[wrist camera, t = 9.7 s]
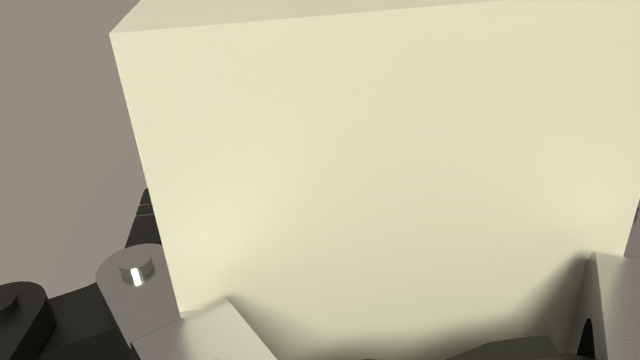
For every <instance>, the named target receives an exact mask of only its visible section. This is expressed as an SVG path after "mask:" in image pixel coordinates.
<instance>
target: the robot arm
mask: <svg viewBox="0 0 640 360" xmlns="http://www.w3.org/2000/svg"><path fill="white" fill-rule="evenodd" d="M0 360H277V359H276V358H275V357H274V355H273V354H272V353H271V352H270V350H269V349H268V348H267V347H266V346H265V344H264V343H263V342H262V341H261V339H260V338H259V337H258V336H257V335H256V333H255V332H254V331H253V330H252V328H251V327H250V326H249V325H248V324H247V322H246V321H245V320H244V319H243V317H242V316H241V315H240V314H239V313H238V311H237V310H236V309H235V308H234V306H233V305H232V304H231V303H230V302H229V301H228V300H227V299H225V298H222V299H220V300H218V301H216V302H214V303H212V304H210V305H208V306H205V307H203V308H201V309H199V310H192V311H185V312H179V309H178V305H177V301H176V297H175V293H174V289H173V285H172V281H171V277H170V273H169V269H168V266H167V262H166V258H165V254H164V250H163V246H162V242H161V238H160V234H159V230H158V226H157V222H156V218H155V214H154V210H153V206H152V202H151V198H150V194H149V190H148V187H147V189H145V190H144V193H143V196H142V198H141V201H140V206H139V207H138V211H137V213H136V217H135V219H134V222H133V225H132V228H131V231H130V234H129V237H128V240H127V243H126V246H125V249H123V250H120V251H118V252H116V253H115V254H113V255H111V256H110V257H108V258H107V259H106V260H105V261H104V262H103V263H102V264H101V265H100V266H99V268H98V270H97V273H96V282H95V283H93V284H91V285H89V286H87V287H84V288H81V289H79V290H75V291H72V292H69V293H66V294H63V295H60V296H57V297H54V298H51V299H48V298H47V295H46V293H45V290H44V289H43V288H42V287H41V286H40V285H38V284H36V283H33V282H12V283H8V284H4V285H0ZM363 360H375V359H363ZM445 360H640V199H639V203H638V206H637V210H636V213H635V217H634V220H633V224H632V227H631V231H630V234H629V238H628V241H627V245H626V248H625V252H624V255H623V256H618V255H612V254H606V253H599V252H592V253H591V255H590V258H589V259H587V261H586V265H585V269H584V273H583V277H582V281H581V285H580V297H579V303H578V308H577V312H576V316H575V321H574V325H573V329H572V333H571V337H570V341H569V345H568V349H567V353H560V352H559V351H558V349H557V348H556V346H555V345H554V343H553V342H552V340H551V339H550V337H549V336H548V335H547V334H544V335H537V336H530V337H523V338H515V339H508V340H501V341H494V342H489V343H486V344H483V345H481V346H478V347H476V348H473V349H471V350H468V351H465V352H463V353H460V354H458V355H455V356H453V357H450V358H448V359H445Z"/></svg>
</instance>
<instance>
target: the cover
mask: <svg viewBox="0 0 640 360" xmlns="http://www.w3.org/2000/svg"><path fill="white" fill-rule="evenodd" d="M109 35H110V39H111V43H112V47H113V51H114V55H115V59H116V63H117V67H118V71H119V75H120V79H121V83H122V87H123V91H124V95H125V99H126V103H127V107H128V111H129V115H130V119H131V123H132V127H133V130H134V135H135V139H136V143H137V146H138V151H139V155H140V158H141V162H142V166H143V170H144V174H145V178H146V182H147V186H148V190H149V194H150V198H151V202H152V206H153V210H154V214H155V218H156V222H157V226H158V230H159V234H160V238H161V242H162V246H163V250H164V254H165V258H166V262H167V266H168V269H169V273H170V277H171V281H172V285H173V289H174V293H175V297H176V301H177V305H178V309H179V312H185V311H192V310H199V309H201V308H203V307H205V306H208V305H210V304H212V303H214V302H216V301H218V300H220V299H222V298H225V299H227V300H228V301H229V302H230V303H231V304H232V305H233V306H234V308H235V309H236V310H237V311H238V313H239V314H240V315H241V316H242V317H243V319H244V320H245V321H246V322H247V324H248V325H249V326H250V327H251V328H252V330H253V331H254V332H255V333H256V335H257V336H258V337H259V338H260V339H261V341H262V342H263V343H264V344H265V346H266V347H267V348H268V349H269V350H270V352H271V353H272V354H273V355H274V357H275V358H276V359H277V360H363V359H375V360H445V359H448V358H450V357H453V356H455V355H458V354H460V353H463V352H465V351H468V350H471V349H473V348H476V347H478V346H481V345H483V344H486V343H489V342H494V341H501V340H508V339H515V338H523V337H530V336H537V335H544V334H547V335H548V336H549V337H550V339H551V340H552V342H553V343H554V345H555V346H556V348H557V349H558V351H559V352H560V353H567V349H568V345H569V341H570V337H571V333H572V329H573V325H574V321H575V316H576V312H577V308H578V303H579V297H580V285H581V281H582V277H583V273H584V269H585V265H586V261H587V259H589V258H590V255H591V253H592V252H599V253H606V254H612V255H618V256H623V255H624V252H625V248H626V245H627V241H628V238H629V234H630V231H631V227H632V224H633V220H634V217H635V213H636V210H637V206H638V203H639V199H640V0H140V1H139V3H138V4H137V5H136V6H135V7H134V8H133V9H132V10H131V11H130V12H129V13H128V14H127V15H126V16H125V17H124V18H123V19H122V21H121V22H120V23H119V24H118V25H117V26H116V27H115V28H114V29H113V30H112V31H111V32H110V33H109Z"/></svg>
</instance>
